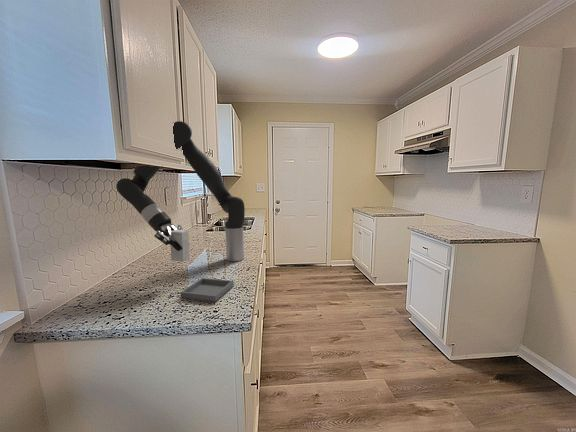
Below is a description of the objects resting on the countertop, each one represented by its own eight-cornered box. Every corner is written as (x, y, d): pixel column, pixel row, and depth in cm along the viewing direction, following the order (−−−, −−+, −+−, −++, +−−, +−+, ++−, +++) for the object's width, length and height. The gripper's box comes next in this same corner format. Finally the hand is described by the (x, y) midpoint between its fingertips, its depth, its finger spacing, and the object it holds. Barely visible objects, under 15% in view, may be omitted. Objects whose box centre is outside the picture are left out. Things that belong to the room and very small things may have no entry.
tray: (202, 283, 108) (202, 277, 107) (233, 286, 104) (233, 280, 104) (180, 298, 94) (180, 292, 94) (215, 302, 91) (215, 296, 91)
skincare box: (170, 260, 105) (168, 231, 103) (178, 257, 110) (176, 229, 108) (183, 262, 104) (181, 232, 102) (191, 258, 108) (188, 229, 106)
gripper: (147, 213, 98) (178, 246, 97) (172, 208, 112) (199, 237, 111) (137, 227, 101) (167, 259, 100) (163, 220, 114) (189, 249, 113)
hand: (184, 247), depth 105 cm, fingers closed on skincare box, 4 cm apart
